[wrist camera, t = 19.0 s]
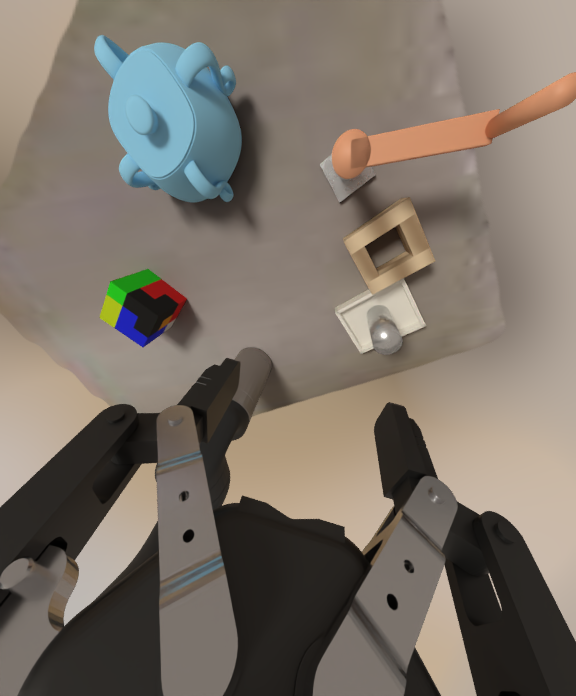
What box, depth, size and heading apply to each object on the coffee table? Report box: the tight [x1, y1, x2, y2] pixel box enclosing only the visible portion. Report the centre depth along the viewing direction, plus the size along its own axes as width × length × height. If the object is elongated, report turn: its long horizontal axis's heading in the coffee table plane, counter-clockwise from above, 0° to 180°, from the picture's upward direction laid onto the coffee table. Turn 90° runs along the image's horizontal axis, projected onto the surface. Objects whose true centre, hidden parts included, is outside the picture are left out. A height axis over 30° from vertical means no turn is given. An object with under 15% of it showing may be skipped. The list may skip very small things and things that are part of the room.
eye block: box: [343, 197, 435, 295], centre depth 37 cm, size 10×10×5 cm
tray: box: [335, 278, 426, 354], centre depth 45 cm, size 13×11×2 cm
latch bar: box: [332, 72, 576, 179], centre depth 20 cm, size 4×16×9 cm, turn 97°
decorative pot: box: [94, 35, 242, 202], centre depth 31 cm, size 16×16×14 cm
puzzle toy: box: [100, 269, 187, 347], centre depth 50 cm, size 10×10×10 cm
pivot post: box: [320, 154, 375, 203], centre depth 30 cm, size 6×6×11 cm
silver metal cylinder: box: [366, 305, 403, 355], centre depth 41 cm, size 4×4×11 cm
